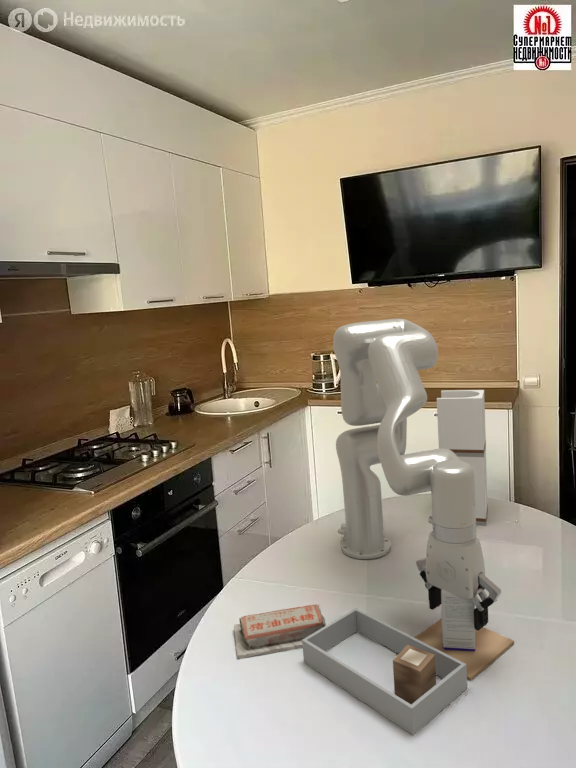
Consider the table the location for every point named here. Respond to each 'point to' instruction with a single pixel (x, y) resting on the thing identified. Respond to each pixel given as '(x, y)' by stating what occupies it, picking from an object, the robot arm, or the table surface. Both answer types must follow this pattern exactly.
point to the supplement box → (457, 622)
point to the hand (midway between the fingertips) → (457, 616)
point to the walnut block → (413, 673)
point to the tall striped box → (466, 437)
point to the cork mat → (476, 661)
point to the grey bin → (373, 693)
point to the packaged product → (276, 630)
